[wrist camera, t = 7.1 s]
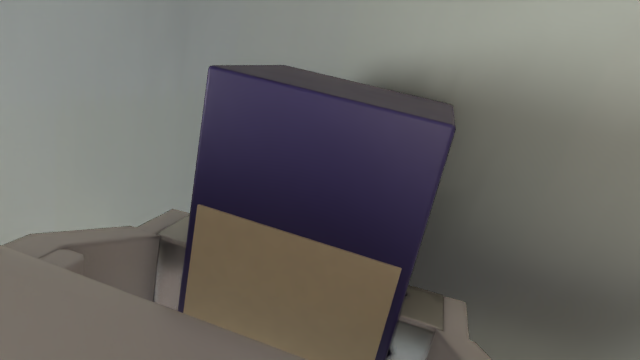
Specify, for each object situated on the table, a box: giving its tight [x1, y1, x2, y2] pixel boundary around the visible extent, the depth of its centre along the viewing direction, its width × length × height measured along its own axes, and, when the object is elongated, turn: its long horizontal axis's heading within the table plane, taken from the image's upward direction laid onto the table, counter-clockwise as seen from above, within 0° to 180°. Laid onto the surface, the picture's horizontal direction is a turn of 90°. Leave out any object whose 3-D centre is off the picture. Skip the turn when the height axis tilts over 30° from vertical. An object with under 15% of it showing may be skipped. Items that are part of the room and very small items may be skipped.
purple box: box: [178, 65, 456, 360], centre depth 11 cm, size 10×5×4 cm, turn 167°
